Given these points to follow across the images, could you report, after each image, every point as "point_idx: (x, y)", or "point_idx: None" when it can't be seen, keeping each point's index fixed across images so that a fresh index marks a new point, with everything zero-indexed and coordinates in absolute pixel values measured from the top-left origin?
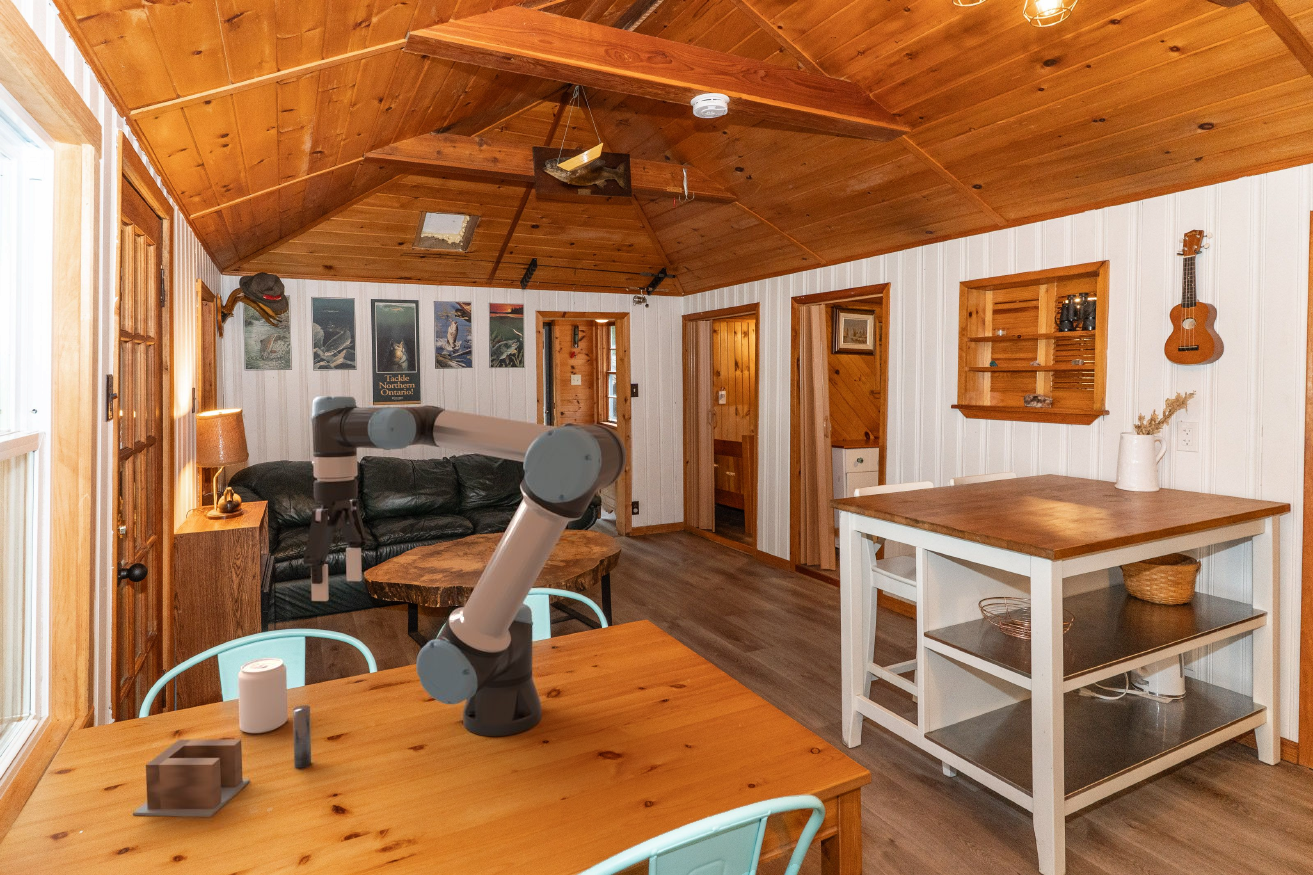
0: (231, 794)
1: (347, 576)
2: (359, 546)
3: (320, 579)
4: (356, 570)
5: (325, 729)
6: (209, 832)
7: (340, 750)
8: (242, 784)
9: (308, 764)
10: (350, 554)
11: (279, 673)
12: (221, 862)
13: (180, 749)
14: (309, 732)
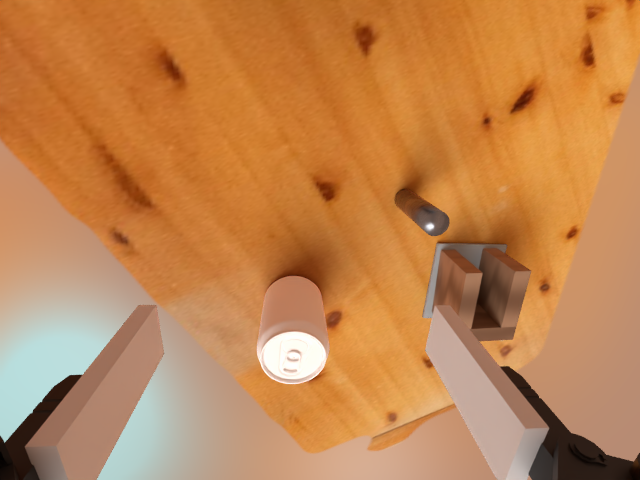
0: (469, 245)
1: (156, 363)
2: (15, 467)
3: (517, 380)
4: (137, 349)
5: (302, 215)
6: (534, 229)
7: (367, 165)
8: (449, 245)
9: (410, 190)
10: (97, 449)
11: (303, 321)
12: (592, 188)
13: (477, 327)
14: (422, 200)
